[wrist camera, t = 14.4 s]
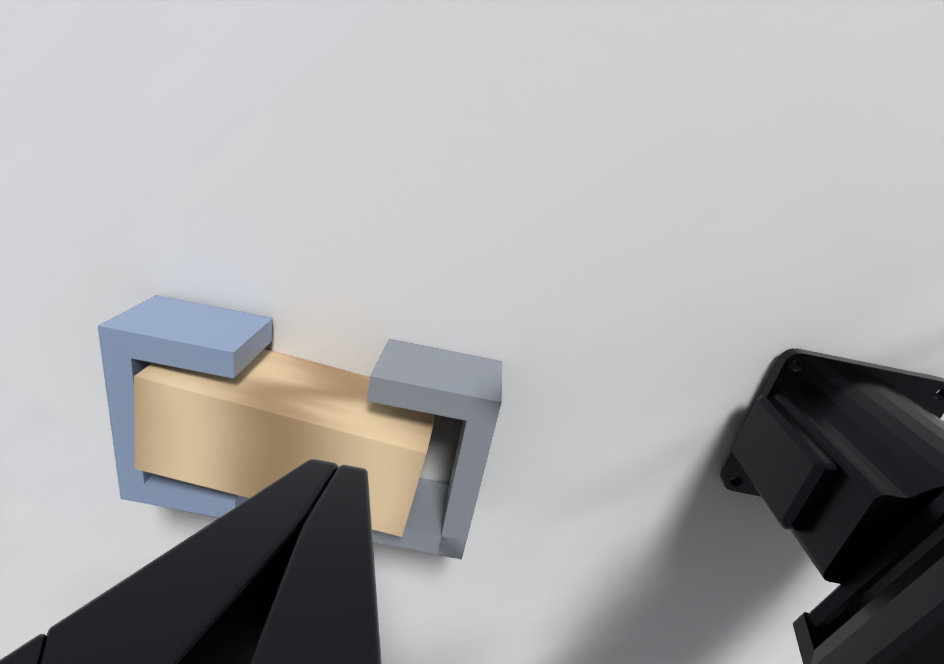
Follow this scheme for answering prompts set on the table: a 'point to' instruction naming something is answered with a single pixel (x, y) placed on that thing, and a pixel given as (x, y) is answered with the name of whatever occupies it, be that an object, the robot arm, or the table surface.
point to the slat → (278, 430)
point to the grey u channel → (476, 403)
